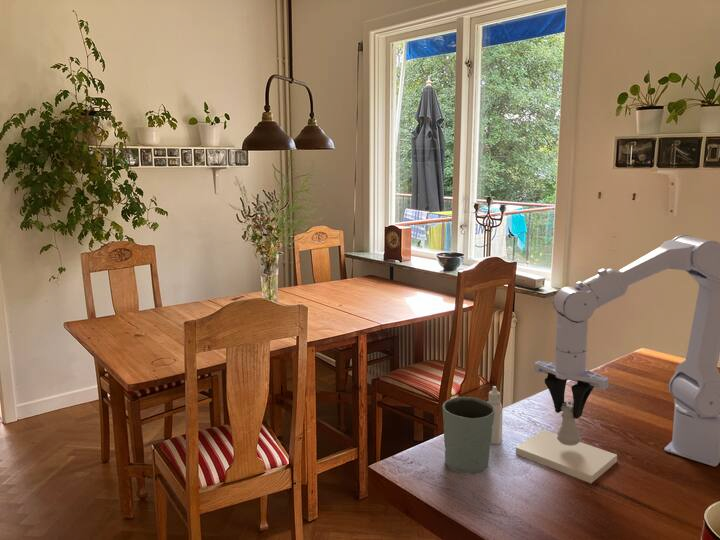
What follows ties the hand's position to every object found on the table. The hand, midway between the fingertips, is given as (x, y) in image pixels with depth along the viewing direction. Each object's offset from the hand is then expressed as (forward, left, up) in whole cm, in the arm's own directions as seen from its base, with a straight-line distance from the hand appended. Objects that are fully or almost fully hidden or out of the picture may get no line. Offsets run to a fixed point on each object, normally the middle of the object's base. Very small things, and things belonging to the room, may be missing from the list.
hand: (568, 413), depth 116 cm
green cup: (+13, +15, -10) cm, 22 cm away
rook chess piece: (0, -1, -6) cm, 6 cm away
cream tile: (0, 0, -9) cm, 9 cm away
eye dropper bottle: (+15, +3, -10) cm, 18 cm away
